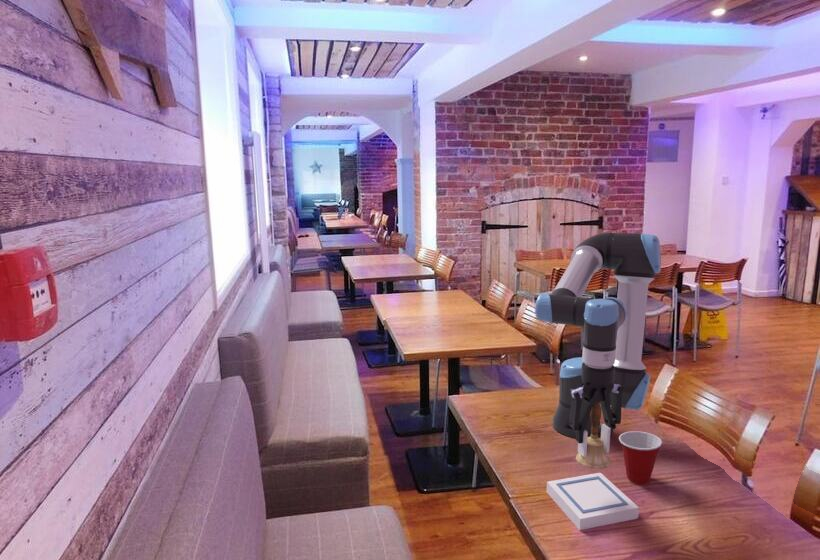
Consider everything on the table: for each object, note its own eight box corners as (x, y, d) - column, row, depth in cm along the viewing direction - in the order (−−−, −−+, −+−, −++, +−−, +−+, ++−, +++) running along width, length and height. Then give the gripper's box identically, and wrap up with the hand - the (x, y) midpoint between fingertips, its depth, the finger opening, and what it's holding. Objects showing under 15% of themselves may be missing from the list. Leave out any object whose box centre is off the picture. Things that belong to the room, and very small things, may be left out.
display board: (599, 482, 146) (600, 471, 145) (638, 518, 131) (638, 506, 130) (546, 491, 142) (546, 481, 141) (579, 530, 127) (580, 518, 126)
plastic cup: (626, 463, 155) (629, 425, 153) (665, 477, 147) (668, 437, 145) (609, 478, 148) (611, 438, 145) (649, 494, 140) (652, 452, 138)
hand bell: (570, 452, 137) (573, 394, 134) (601, 451, 138) (605, 393, 135) (583, 470, 129) (587, 409, 126) (616, 468, 130) (620, 407, 127)
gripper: (572, 373, 123) (567, 465, 127) (642, 365, 127) (635, 454, 132) (555, 362, 130) (551, 449, 135) (622, 355, 134) (616, 439, 139)
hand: (593, 451), depth 133 cm, fingers closed on hand bell, 6 cm apart
